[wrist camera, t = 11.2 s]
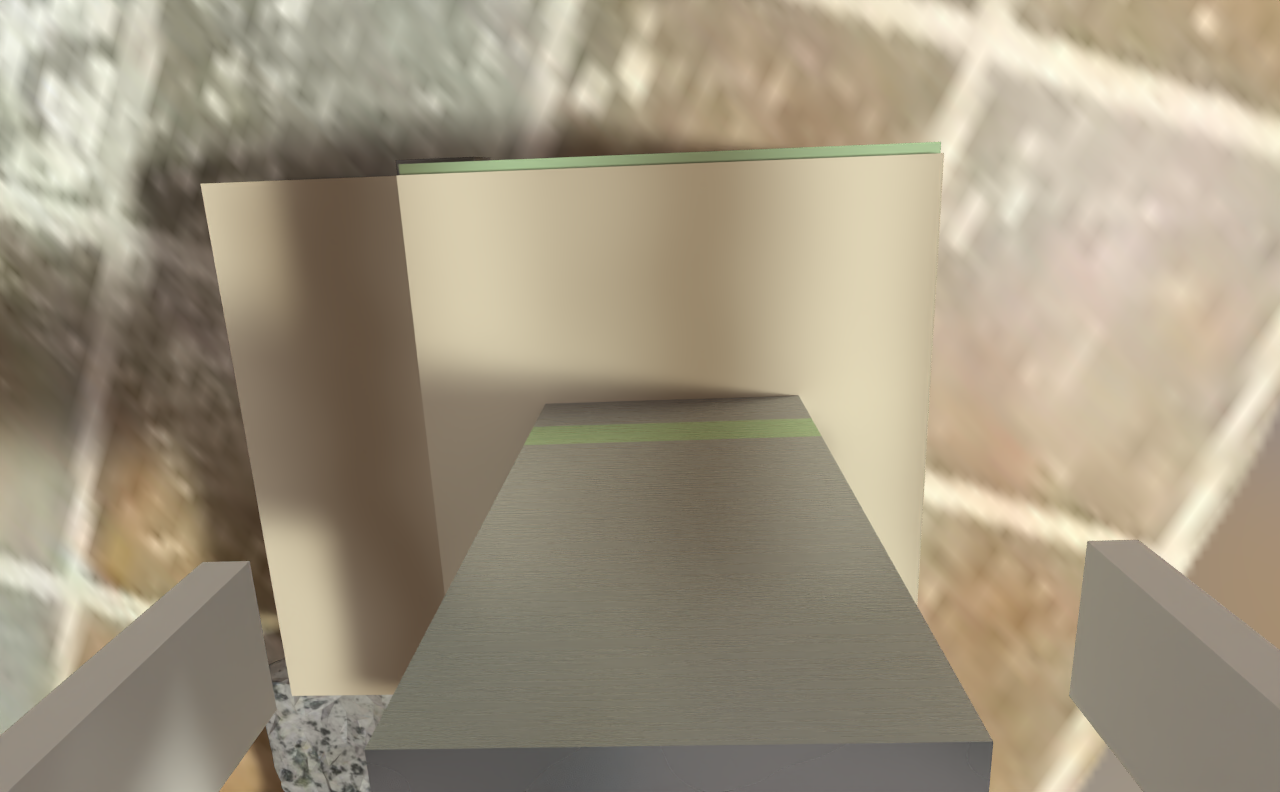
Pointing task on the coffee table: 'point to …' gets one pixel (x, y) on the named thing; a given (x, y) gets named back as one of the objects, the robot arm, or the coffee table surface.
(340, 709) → the rock
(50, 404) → the coffee table surface
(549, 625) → the column
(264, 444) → the stand
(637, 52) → the coffee table surface
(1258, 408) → the coffee table surface
